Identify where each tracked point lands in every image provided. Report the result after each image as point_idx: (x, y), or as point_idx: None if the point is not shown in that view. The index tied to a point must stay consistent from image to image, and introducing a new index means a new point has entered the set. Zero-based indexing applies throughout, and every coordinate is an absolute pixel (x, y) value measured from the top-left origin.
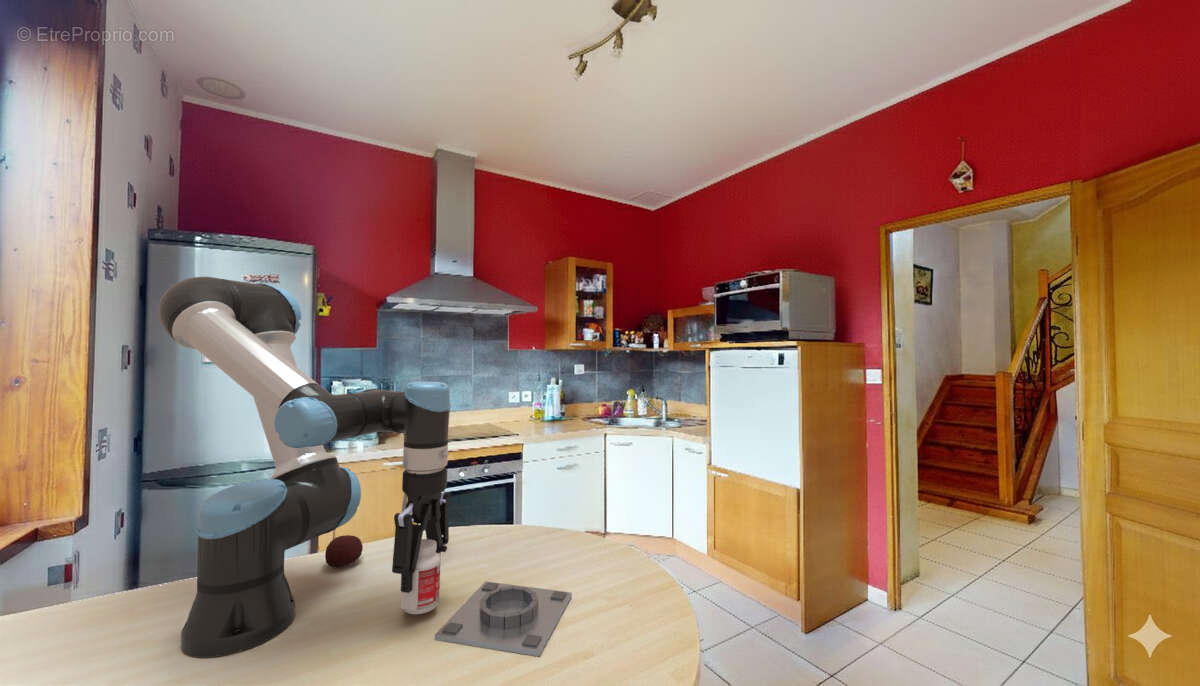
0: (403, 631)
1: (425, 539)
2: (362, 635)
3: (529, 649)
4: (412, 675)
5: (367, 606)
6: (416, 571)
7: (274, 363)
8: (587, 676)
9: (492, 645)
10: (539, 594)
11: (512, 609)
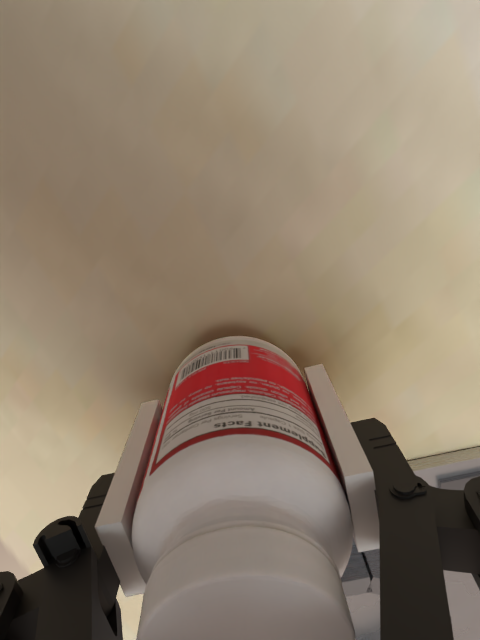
0: (134, 408)
1: (329, 619)
2: (42, 309)
3: None
4: (23, 561)
5: (172, 147)
6: (133, 591)
7: None
8: None
9: None
10: (471, 632)
11: (364, 615)
